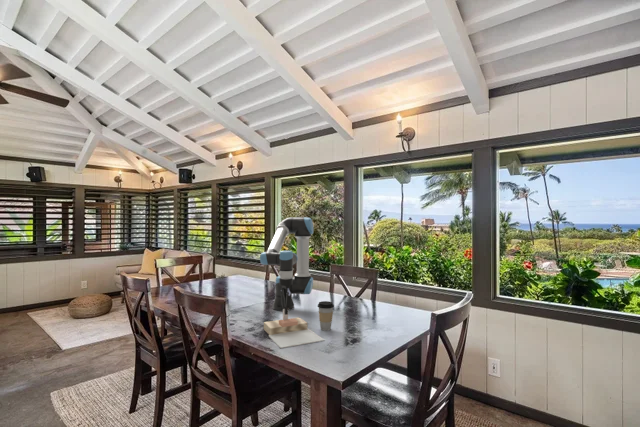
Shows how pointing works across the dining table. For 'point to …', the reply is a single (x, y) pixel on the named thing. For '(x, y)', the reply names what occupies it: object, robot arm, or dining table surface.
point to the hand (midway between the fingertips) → (285, 319)
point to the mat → (295, 338)
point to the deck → (275, 328)
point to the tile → (288, 322)
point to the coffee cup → (325, 315)
